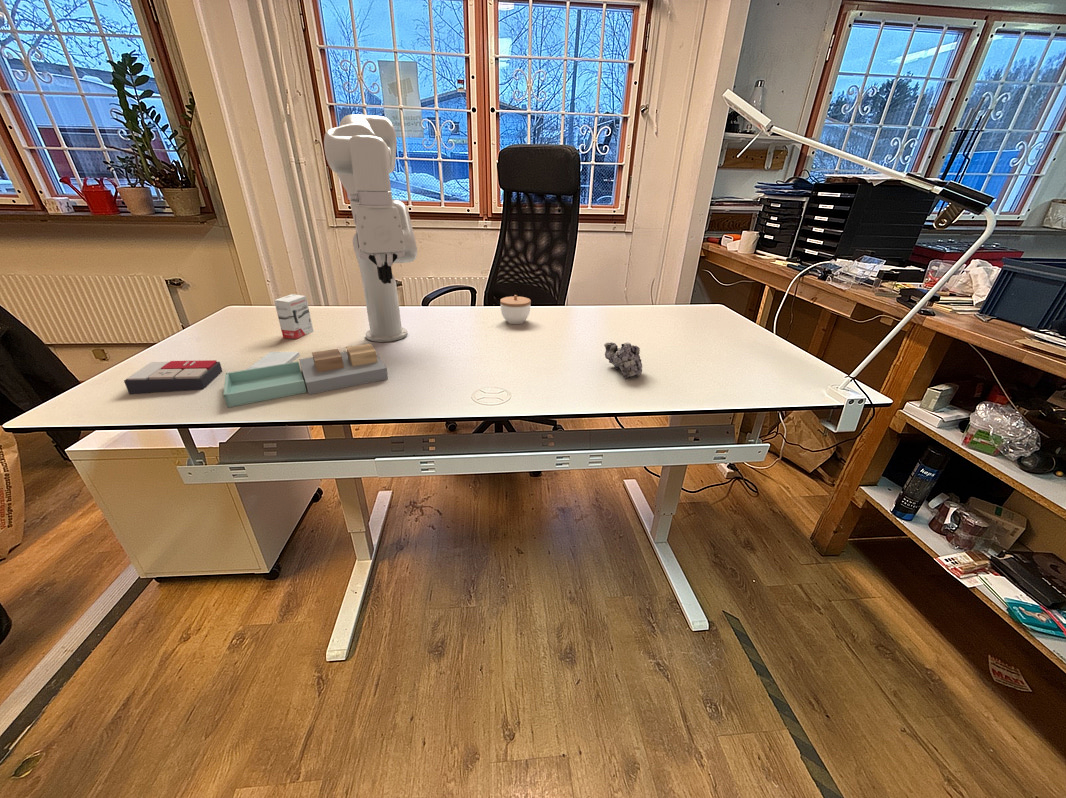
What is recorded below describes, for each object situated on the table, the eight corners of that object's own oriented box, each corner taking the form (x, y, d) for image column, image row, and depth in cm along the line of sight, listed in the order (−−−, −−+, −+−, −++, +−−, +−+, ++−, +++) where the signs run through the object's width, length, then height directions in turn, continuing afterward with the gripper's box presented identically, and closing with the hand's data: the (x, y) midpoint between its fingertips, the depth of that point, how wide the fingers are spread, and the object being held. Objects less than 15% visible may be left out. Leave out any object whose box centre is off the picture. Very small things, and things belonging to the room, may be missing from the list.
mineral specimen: (599, 348, 117) (618, 326, 110) (628, 358, 120) (649, 336, 112) (600, 383, 110) (620, 362, 103) (631, 393, 113) (653, 372, 105)
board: (301, 370, 109) (299, 359, 108) (373, 357, 118) (371, 347, 116) (308, 394, 97) (305, 382, 96) (388, 378, 106) (386, 367, 104)
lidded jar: (499, 317, 155) (499, 291, 151) (528, 317, 156) (529, 291, 152) (501, 326, 146) (500, 299, 141) (531, 325, 147) (532, 299, 142)
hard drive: (269, 351, 117) (243, 369, 106) (299, 351, 118) (277, 369, 107) (270, 357, 118) (245, 375, 107) (300, 357, 118) (279, 375, 107)
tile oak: (348, 358, 109) (346, 347, 108) (372, 354, 112) (370, 343, 111) (352, 366, 105) (350, 354, 103) (377, 361, 107) (375, 350, 106)
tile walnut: (314, 363, 105) (311, 352, 104) (339, 359, 108) (337, 348, 107) (317, 372, 101) (314, 360, 100) (344, 367, 104) (341, 356, 102)
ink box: (296, 339, 129) (287, 301, 124) (282, 338, 130) (272, 300, 125) (314, 331, 137) (306, 294, 131) (301, 329, 138) (292, 293, 132)
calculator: (199, 376, 97) (121, 377, 93) (204, 393, 99) (128, 395, 95) (219, 358, 106) (149, 359, 103) (224, 374, 108) (155, 375, 105)
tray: (229, 384, 101) (225, 373, 99) (301, 372, 108) (298, 361, 107) (227, 407, 91) (223, 395, 89) (306, 392, 98) (303, 380, 97)
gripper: (342, 201, 89) (357, 288, 97) (412, 200, 96) (420, 282, 104) (336, 199, 94) (351, 282, 103) (403, 199, 101) (411, 277, 110)
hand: (386, 282), depth 103 cm, fingers closed
